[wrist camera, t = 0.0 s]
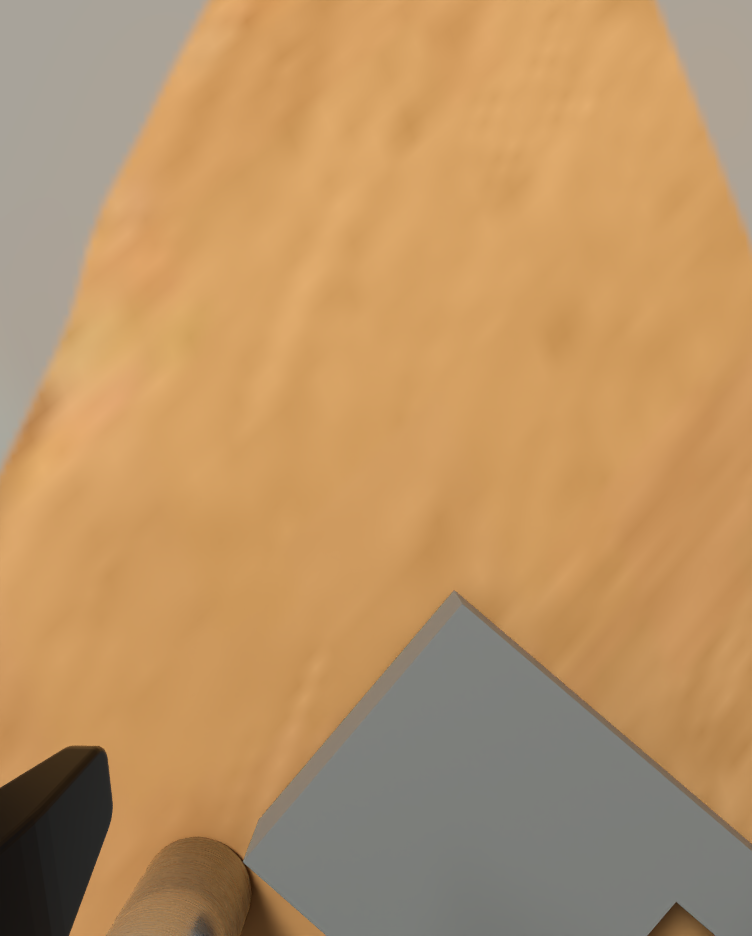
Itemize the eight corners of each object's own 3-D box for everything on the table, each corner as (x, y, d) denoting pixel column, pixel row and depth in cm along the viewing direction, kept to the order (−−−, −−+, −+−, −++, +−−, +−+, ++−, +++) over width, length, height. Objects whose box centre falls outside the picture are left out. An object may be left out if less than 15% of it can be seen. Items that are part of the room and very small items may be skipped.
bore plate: (683, 1192, 22) (721, 1283, 20) (259, 819, 23) (242, 862, 20) (883, 957, 22) (947, 1017, 20) (454, 590, 23) (462, 603, 20)
